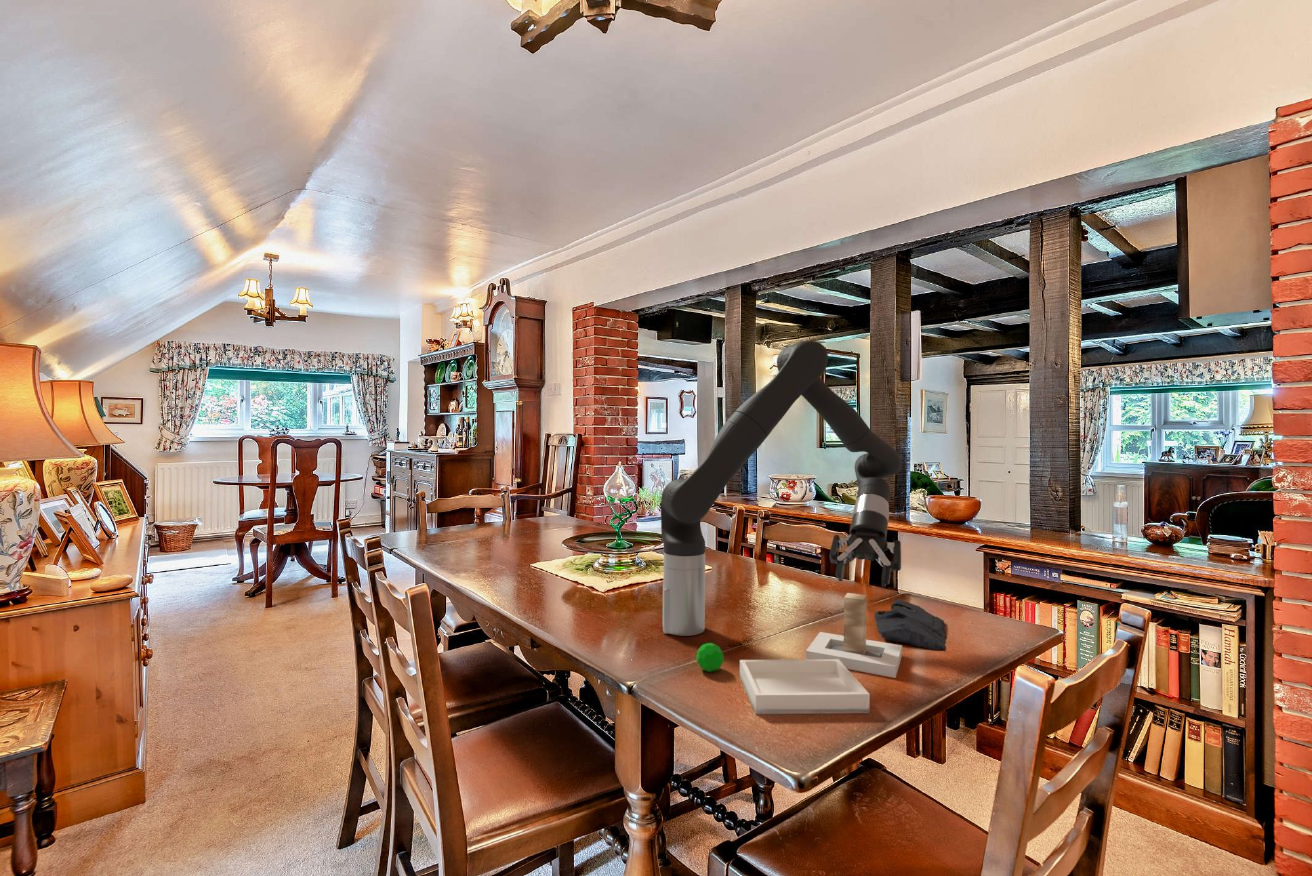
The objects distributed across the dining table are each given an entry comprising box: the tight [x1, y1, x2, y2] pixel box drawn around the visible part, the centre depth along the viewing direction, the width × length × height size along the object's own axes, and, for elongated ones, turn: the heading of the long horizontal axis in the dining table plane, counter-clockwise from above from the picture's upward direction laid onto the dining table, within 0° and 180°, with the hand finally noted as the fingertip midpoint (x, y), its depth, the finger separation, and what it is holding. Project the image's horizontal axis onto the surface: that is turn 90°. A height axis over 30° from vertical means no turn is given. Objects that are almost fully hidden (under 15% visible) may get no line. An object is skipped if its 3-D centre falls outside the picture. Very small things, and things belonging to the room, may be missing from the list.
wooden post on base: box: [831, 592, 881, 658], centre depth 114 cm, size 9×4×12 cm, turn 62°
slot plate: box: [805, 631, 903, 679], centre depth 114 cm, size 16×12×2 cm
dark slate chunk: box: [874, 598, 947, 651], centre depth 131 cm, size 15×22×5 cm
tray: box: [739, 658, 871, 715], centre depth 99 cm, size 18×14×3 cm
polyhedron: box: [695, 642, 725, 673], centre depth 108 cm, size 5×5×5 cm
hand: (861, 582), depth 121 cm, fingers open, 8 cm apart
